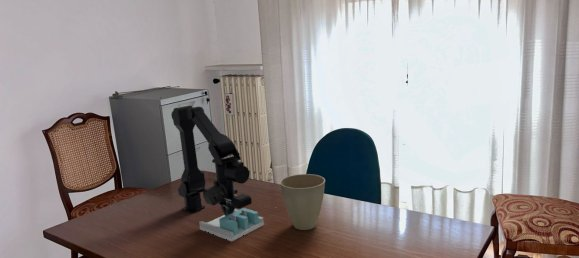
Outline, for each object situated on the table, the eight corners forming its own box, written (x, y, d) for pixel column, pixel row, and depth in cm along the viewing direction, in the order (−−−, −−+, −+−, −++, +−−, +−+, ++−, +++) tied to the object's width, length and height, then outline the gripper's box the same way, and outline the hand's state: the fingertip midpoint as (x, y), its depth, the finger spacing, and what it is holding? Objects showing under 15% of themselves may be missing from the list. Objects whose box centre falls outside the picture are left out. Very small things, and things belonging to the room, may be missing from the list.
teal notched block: (220, 230, 151) (219, 218, 150) (244, 218, 159) (243, 207, 158) (234, 235, 146) (233, 223, 145) (258, 223, 154) (258, 212, 154)
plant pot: (336, 225, 152) (334, 180, 149) (301, 239, 143) (299, 192, 140) (307, 212, 164) (305, 170, 160) (274, 225, 155) (271, 180, 152)
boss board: (200, 229, 155) (198, 212, 154) (232, 214, 166) (230, 198, 165) (231, 241, 145) (230, 223, 143) (263, 225, 156) (262, 208, 154)
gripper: (188, 178, 152) (192, 221, 156) (225, 189, 140) (229, 235, 144) (214, 169, 160) (217, 211, 164) (251, 179, 148) (254, 223, 152)
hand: (228, 220), depth 156 cm, fingers closed
